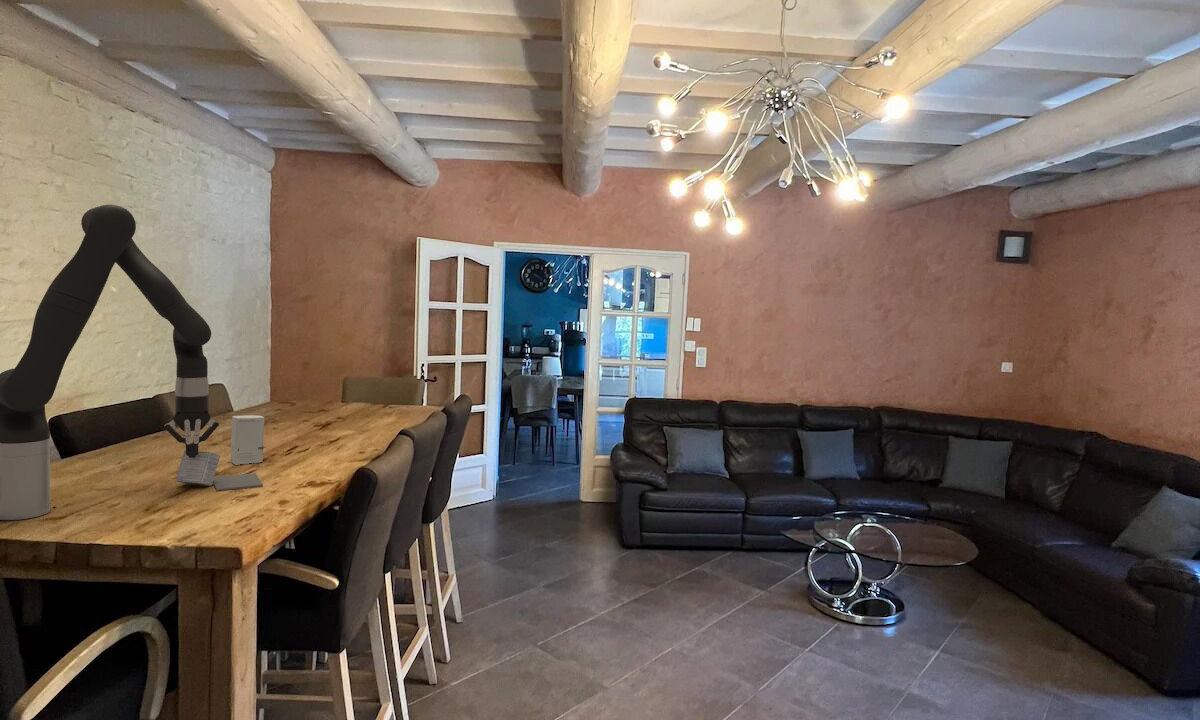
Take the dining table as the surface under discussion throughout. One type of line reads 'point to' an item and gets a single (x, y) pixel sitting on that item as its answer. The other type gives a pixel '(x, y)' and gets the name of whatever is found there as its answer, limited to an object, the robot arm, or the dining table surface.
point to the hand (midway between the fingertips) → (192, 457)
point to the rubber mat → (237, 482)
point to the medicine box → (198, 469)
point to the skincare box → (247, 439)
